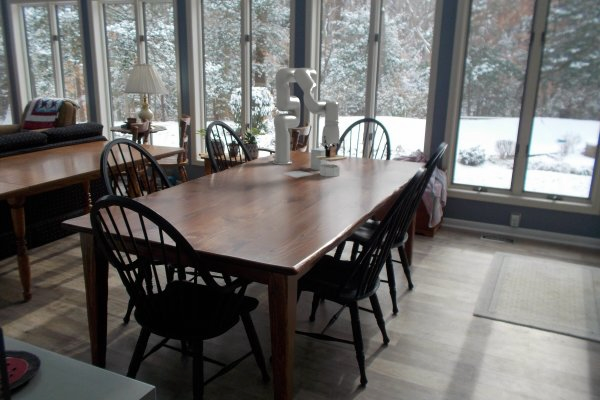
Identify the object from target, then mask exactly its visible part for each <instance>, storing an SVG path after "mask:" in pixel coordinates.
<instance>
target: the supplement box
mask: <svg viewBox="0 0 600 400" xmlns="http://www.w3.org/2000/svg"><path fill="white" fill-rule="evenodd" d="M322 155H325V148H323V147H322V148H321V147H316V148H312V149H310V170H315V171H320V165H323V164H328V161H325V160H321V159H316V158H315V156H322Z"/></svg>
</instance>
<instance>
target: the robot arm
mask: <svg viewBox="0 0 600 400" xmlns="http://www.w3.org/2000/svg"><path fill="white" fill-rule="evenodd" d="M317 78H318V74H317V71H316V70H315V69H314V68H312V67H298V68H297V67H283V68H280V69H279V70H277V71H276V73H275V76H274V79H275V80H274V81H275V87H276V88H275V89H276V95H275V96H276V97H275V98H276V103H275V105H276V109H277V111H279V112H285V113H279V114H277V115H275V116H274V118H273V125H274V135H275V136H274V144H275V145H274V146H275V147H274V150H275V151H274V155H273V156H272V158H273V159H274V160H273V161H272V164H274V165H278V166H279V165H281V166H283V165H284V166H285V165H291V164H293V160H291V135H290V132H289V130H288V129H295V128H298V126H300V122H301V101H300V99H299V97H297V96H296V95H291V88H290V85H289V83H297V85H298V86H299V87H300V89H301V90H302V92H303V103H304V105H305V107H306V108H307V110H308V111H309V112H310V113H311V114H312V115H313V114H314V115H321V114H322V115H323V114H324V126H323V128H322V135H321V146H322V148H323V149H325V156H328V157H329V156H330V150H329V148H330V146H335V147H336V150H337V148H338V146H339V145H340V144H341V140H340V127H339V123H340V122H339V110H340V109H339V106H340V105H339V102H338V101H330V100H327V99H326V100H315V98H314V97H313V94H315V92H316V91H317V89H318V85H317V83H316V80H317ZM286 112H287V113H286Z"/></svg>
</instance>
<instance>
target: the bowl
mask: <svg viewBox="0 0 600 400" xmlns="http://www.w3.org/2000/svg"><path fill="white" fill-rule="evenodd" d="M340 166H341V165H339V164H335V163H327V164H323V165H320V170H319V175H320V176H322V177H331V178H332V177H339V176H340V172H341V171H340V169H341V167H340Z"/></svg>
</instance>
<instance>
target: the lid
mask: <svg viewBox="0 0 600 400" xmlns="http://www.w3.org/2000/svg"><path fill="white" fill-rule="evenodd" d="M329 150H330V156H329V157H328V156H325V155H322V156H315V158H316V159H321V160H325V161H327V162H337V161H342V160H343V161H344V160H347V158H348V157H347V156H342V155H337V149H336V147H335V146H332V145H330V148H329Z"/></svg>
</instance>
